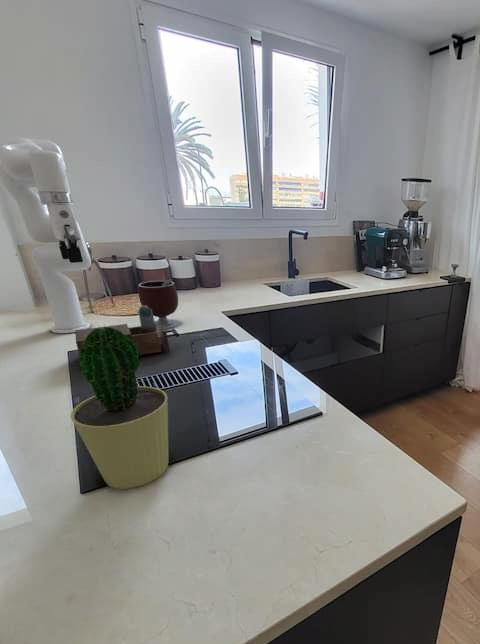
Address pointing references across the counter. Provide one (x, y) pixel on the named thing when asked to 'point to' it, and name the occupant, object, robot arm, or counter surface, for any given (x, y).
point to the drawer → (151, 339)
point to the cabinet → (84, 332)
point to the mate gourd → (160, 301)
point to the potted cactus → (121, 413)
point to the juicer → (101, 275)
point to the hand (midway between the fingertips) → (72, 260)
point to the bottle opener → (147, 320)
